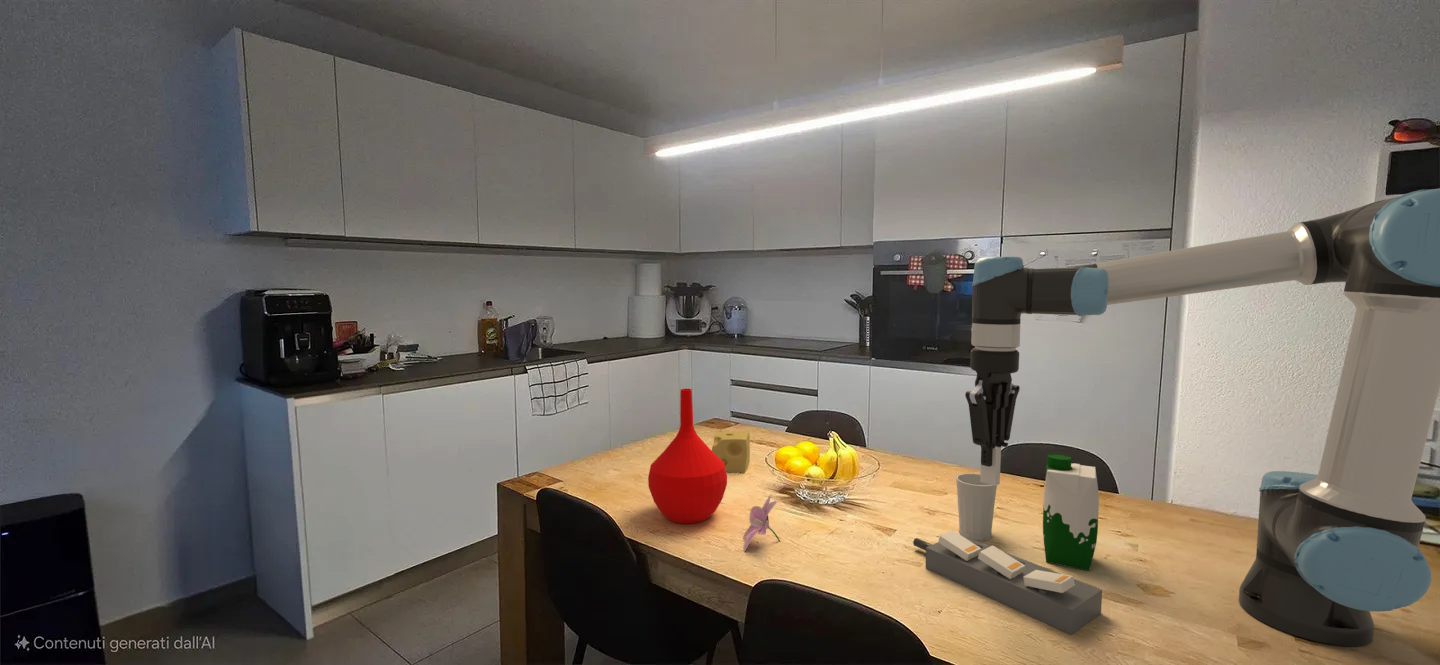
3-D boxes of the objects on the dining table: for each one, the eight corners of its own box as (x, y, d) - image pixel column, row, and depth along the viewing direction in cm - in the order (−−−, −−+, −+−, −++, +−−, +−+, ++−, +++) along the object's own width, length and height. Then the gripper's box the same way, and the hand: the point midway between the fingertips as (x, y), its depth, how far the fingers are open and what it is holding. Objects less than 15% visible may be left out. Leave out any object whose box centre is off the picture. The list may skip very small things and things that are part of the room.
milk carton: (1043, 545, 120) (1046, 449, 118) (1095, 555, 115) (1100, 455, 113) (1040, 563, 112) (1043, 460, 111) (1096, 575, 108) (1101, 468, 106)
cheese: (711, 472, 168) (710, 438, 167) (717, 461, 179) (716, 428, 178) (747, 474, 167) (746, 439, 166) (751, 462, 177) (751, 429, 176)
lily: (756, 530, 131) (735, 496, 129) (803, 518, 126) (782, 483, 124) (743, 570, 121) (720, 534, 119) (793, 559, 116) (770, 521, 114)
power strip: (1101, 613, 95) (1102, 586, 95) (1071, 634, 90) (1072, 606, 89) (931, 542, 122) (931, 521, 121) (899, 555, 116) (899, 533, 116)
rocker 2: (1023, 572, 101) (1025, 565, 100) (1010, 579, 98) (1012, 572, 98) (990, 552, 105) (992, 545, 105) (978, 558, 103) (979, 551, 103)
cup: (1000, 543, 121) (1001, 486, 120) (958, 540, 122) (960, 484, 121) (990, 527, 128) (992, 474, 127) (951, 525, 130) (953, 472, 129)
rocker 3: (1075, 585, 94) (1073, 575, 94) (1062, 592, 91) (1060, 583, 91) (1037, 578, 99) (1035, 569, 99) (1024, 585, 96) (1023, 576, 96)
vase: (681, 539, 125) (678, 401, 122) (633, 514, 138) (630, 389, 136) (744, 516, 137) (742, 389, 134) (694, 495, 150) (692, 380, 148)
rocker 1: (979, 554, 107) (981, 547, 107) (966, 561, 105) (968, 554, 104) (951, 536, 112) (952, 529, 111) (938, 542, 110) (939, 535, 109)
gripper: (995, 343, 107) (990, 470, 109) (952, 348, 100) (948, 484, 102) (1036, 347, 101) (1031, 481, 103) (994, 353, 93) (989, 497, 96)
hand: (989, 482), depth 102 cm, fingers closed
